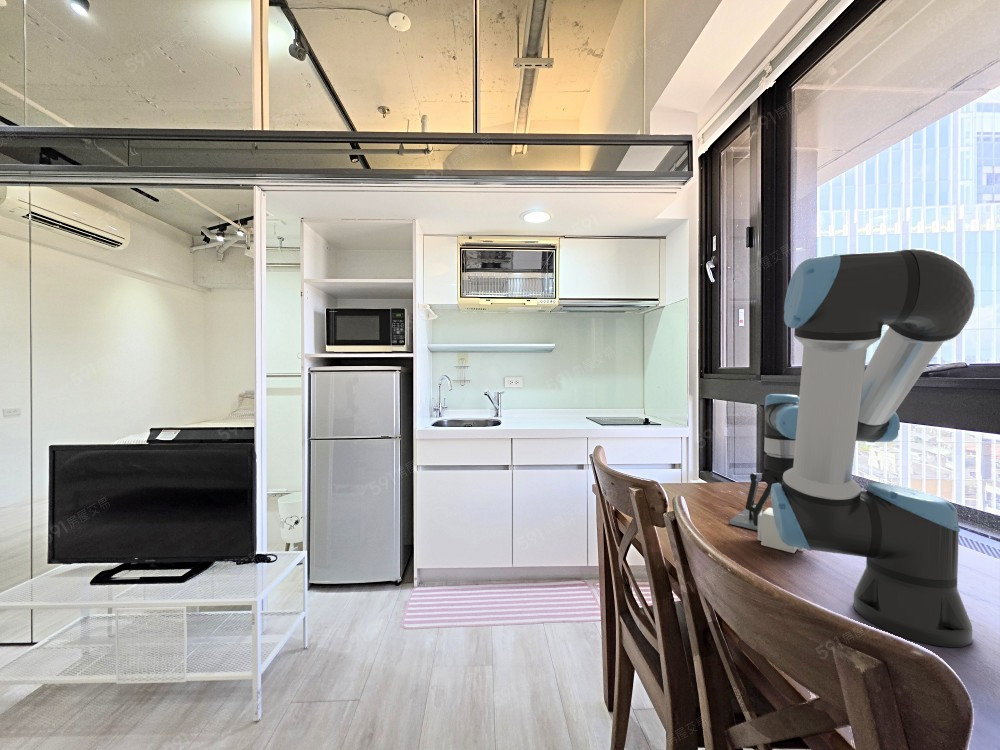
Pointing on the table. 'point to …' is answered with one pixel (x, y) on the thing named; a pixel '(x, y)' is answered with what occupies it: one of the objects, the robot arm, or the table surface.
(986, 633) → the table surface
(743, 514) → the hub plate
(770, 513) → the block
